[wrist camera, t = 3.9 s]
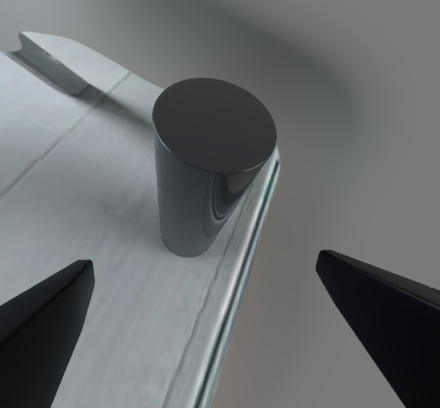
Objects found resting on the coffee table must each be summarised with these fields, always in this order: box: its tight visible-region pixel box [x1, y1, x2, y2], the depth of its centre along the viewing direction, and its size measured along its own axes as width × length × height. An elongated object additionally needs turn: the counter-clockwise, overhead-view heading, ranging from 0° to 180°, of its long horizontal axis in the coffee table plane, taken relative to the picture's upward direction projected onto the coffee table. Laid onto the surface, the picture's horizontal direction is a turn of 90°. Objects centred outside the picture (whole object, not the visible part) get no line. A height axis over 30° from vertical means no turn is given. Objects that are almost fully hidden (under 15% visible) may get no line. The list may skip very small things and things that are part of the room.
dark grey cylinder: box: [152, 78, 277, 257], centre depth 15 cm, size 5×5×14 cm
